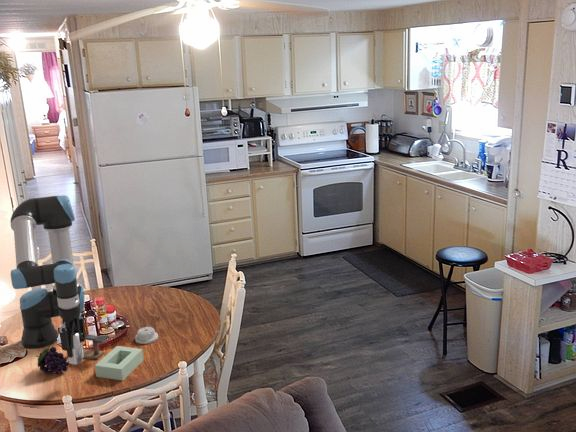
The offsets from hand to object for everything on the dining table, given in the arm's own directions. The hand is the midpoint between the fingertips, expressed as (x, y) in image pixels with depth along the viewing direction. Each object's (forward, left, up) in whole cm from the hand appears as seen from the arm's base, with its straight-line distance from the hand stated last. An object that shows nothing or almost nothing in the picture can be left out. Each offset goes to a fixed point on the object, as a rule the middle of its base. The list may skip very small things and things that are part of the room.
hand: (76, 360), depth 217 cm
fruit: (-16, +4, -10) cm, 19 cm away
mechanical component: (+8, +37, -10) cm, 40 cm away
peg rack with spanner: (-8, +18, -9) cm, 22 cm away
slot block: (+10, +12, -9) cm, 19 cm away
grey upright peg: (0, 0, -1) cm, 1 cm away
